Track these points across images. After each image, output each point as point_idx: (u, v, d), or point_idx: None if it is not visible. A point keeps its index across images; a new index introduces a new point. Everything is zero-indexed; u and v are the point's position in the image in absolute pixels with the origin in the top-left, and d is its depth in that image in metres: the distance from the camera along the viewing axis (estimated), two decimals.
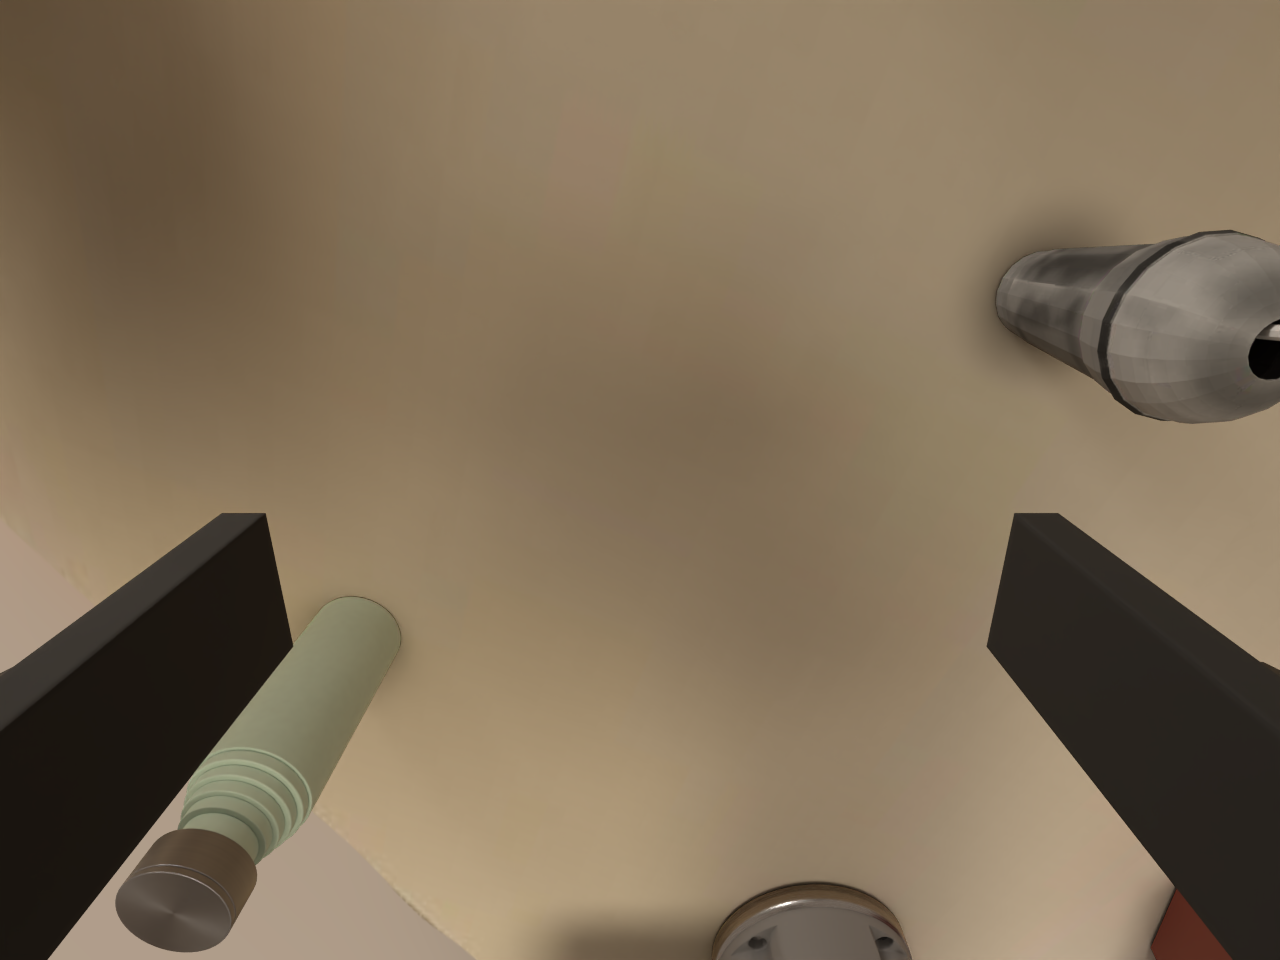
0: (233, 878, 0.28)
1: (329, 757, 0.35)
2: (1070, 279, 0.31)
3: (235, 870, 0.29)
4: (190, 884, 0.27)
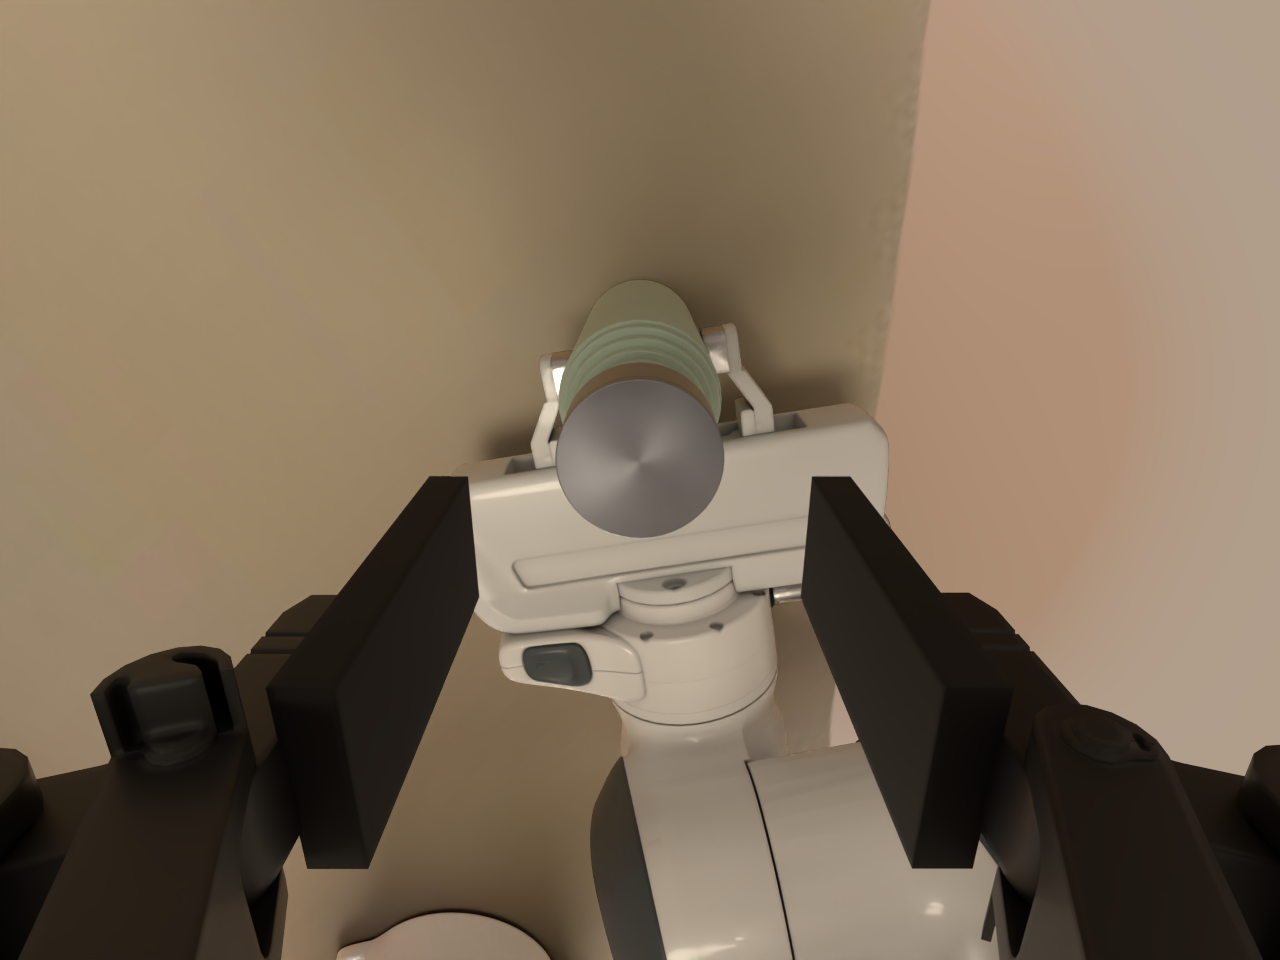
0: None
1: (573, 350, 0.26)
2: None
3: None
4: (574, 488, 0.19)
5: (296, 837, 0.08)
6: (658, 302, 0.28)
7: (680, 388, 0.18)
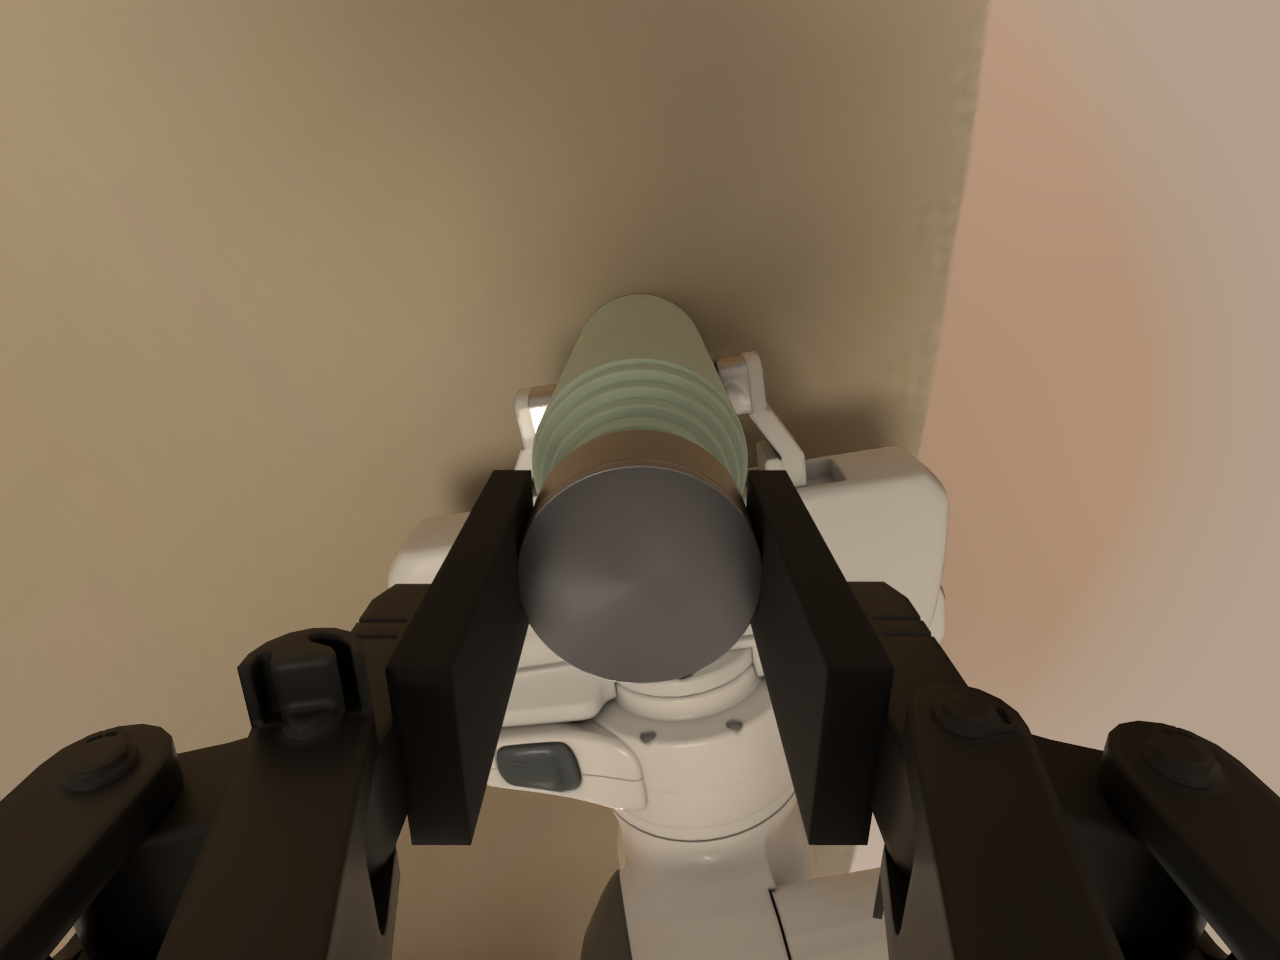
0: None
1: (553, 392, 0.20)
2: None
3: None
4: (544, 617, 0.13)
5: (405, 814, 0.09)
6: (663, 328, 0.22)
7: (700, 478, 0.12)
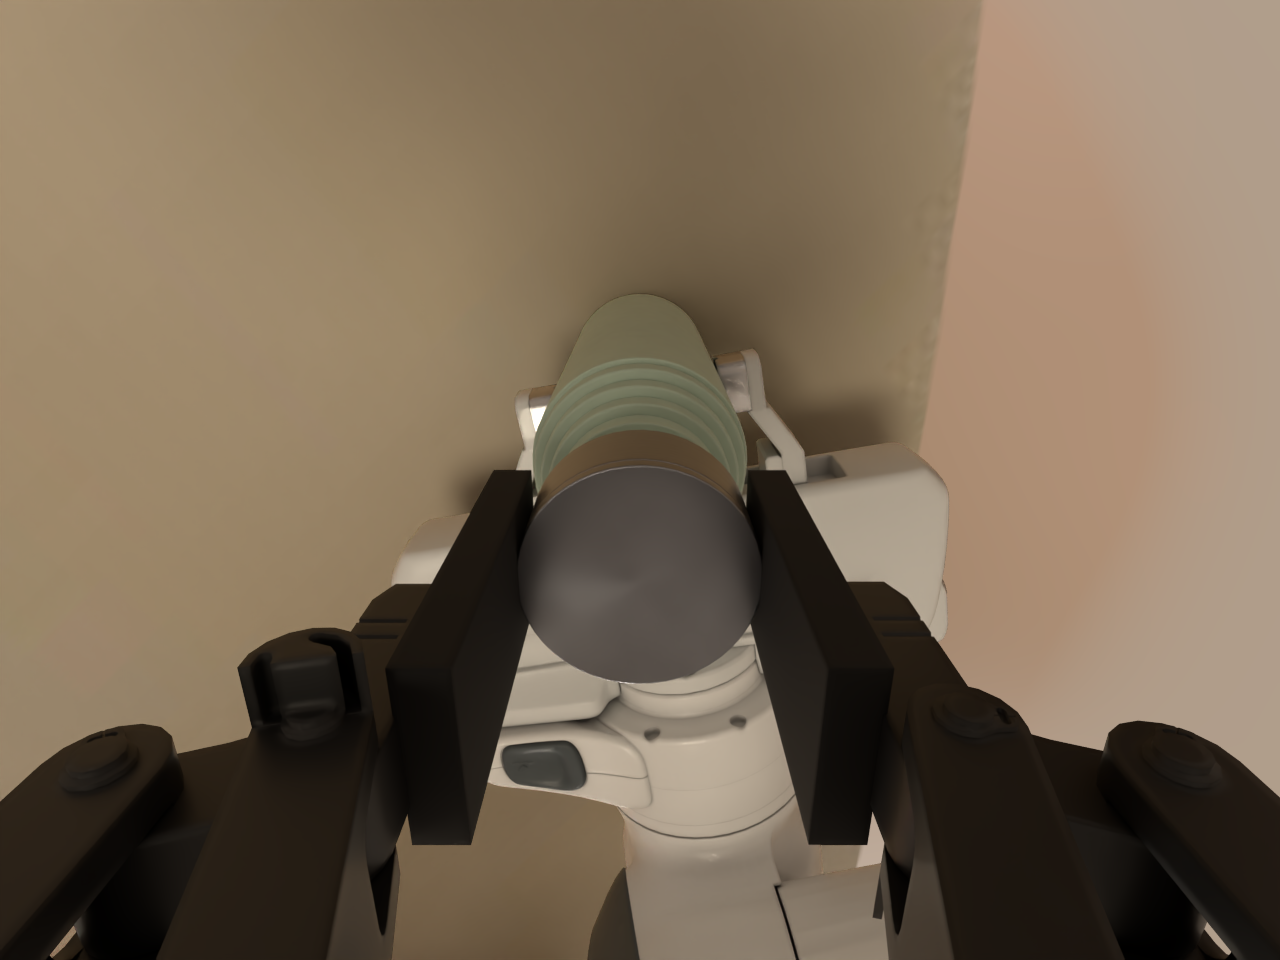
0: None
1: (553, 393, 0.20)
2: None
3: None
4: (733, 619, 0.13)
5: (405, 814, 0.09)
6: (661, 327, 0.22)
7: (522, 606, 0.13)
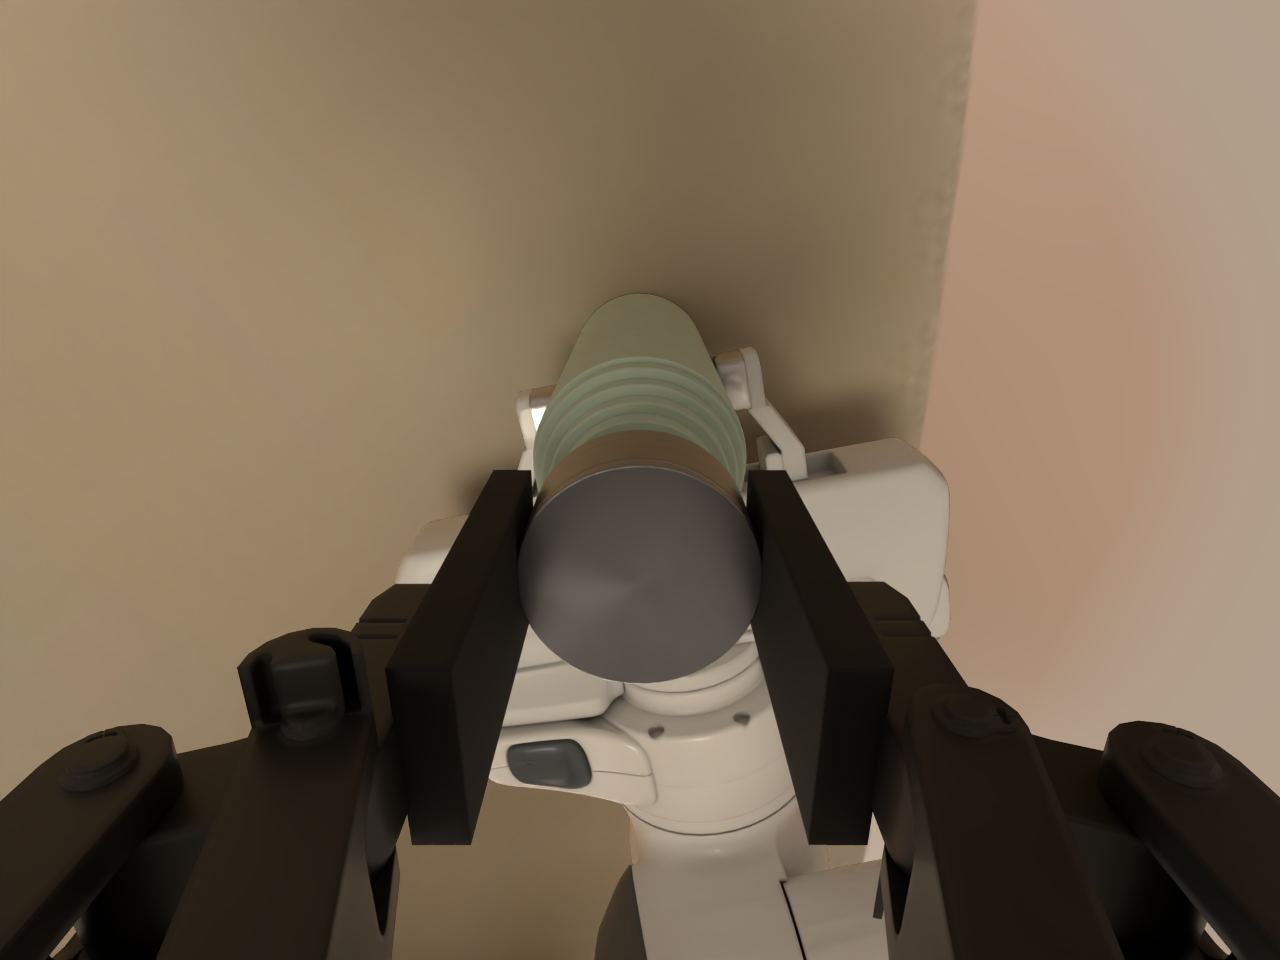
0: (675, 453, 0.13)
1: (552, 393, 0.20)
2: None
3: (668, 447, 0.13)
4: (605, 488, 0.12)
5: (405, 814, 0.09)
6: (660, 326, 0.22)
7: (739, 636, 0.13)
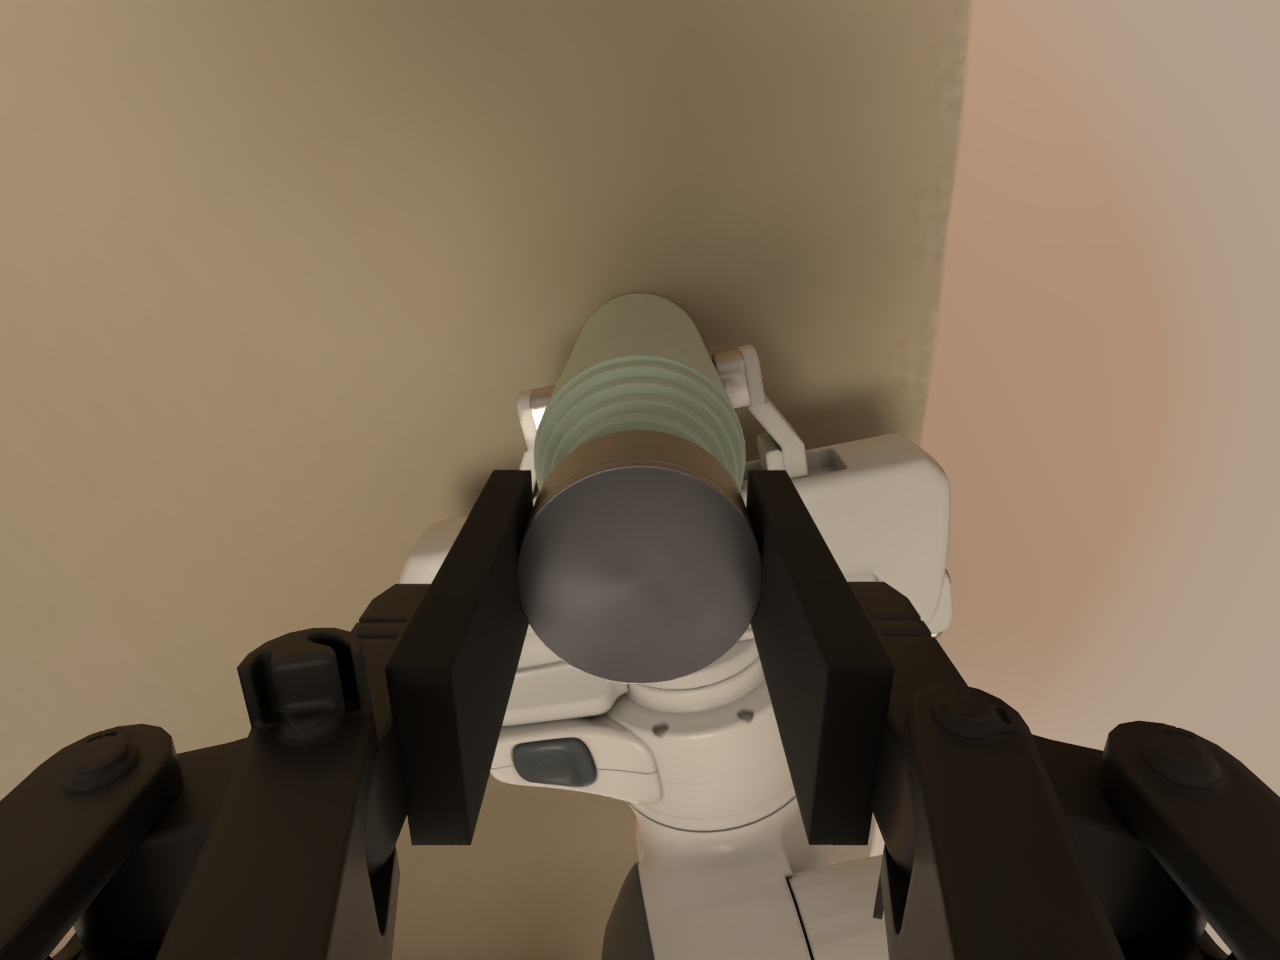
0: None
1: (552, 393, 0.20)
2: None
3: None
4: (589, 659, 0.13)
5: (405, 814, 0.09)
6: (659, 325, 0.22)
7: (618, 465, 0.12)
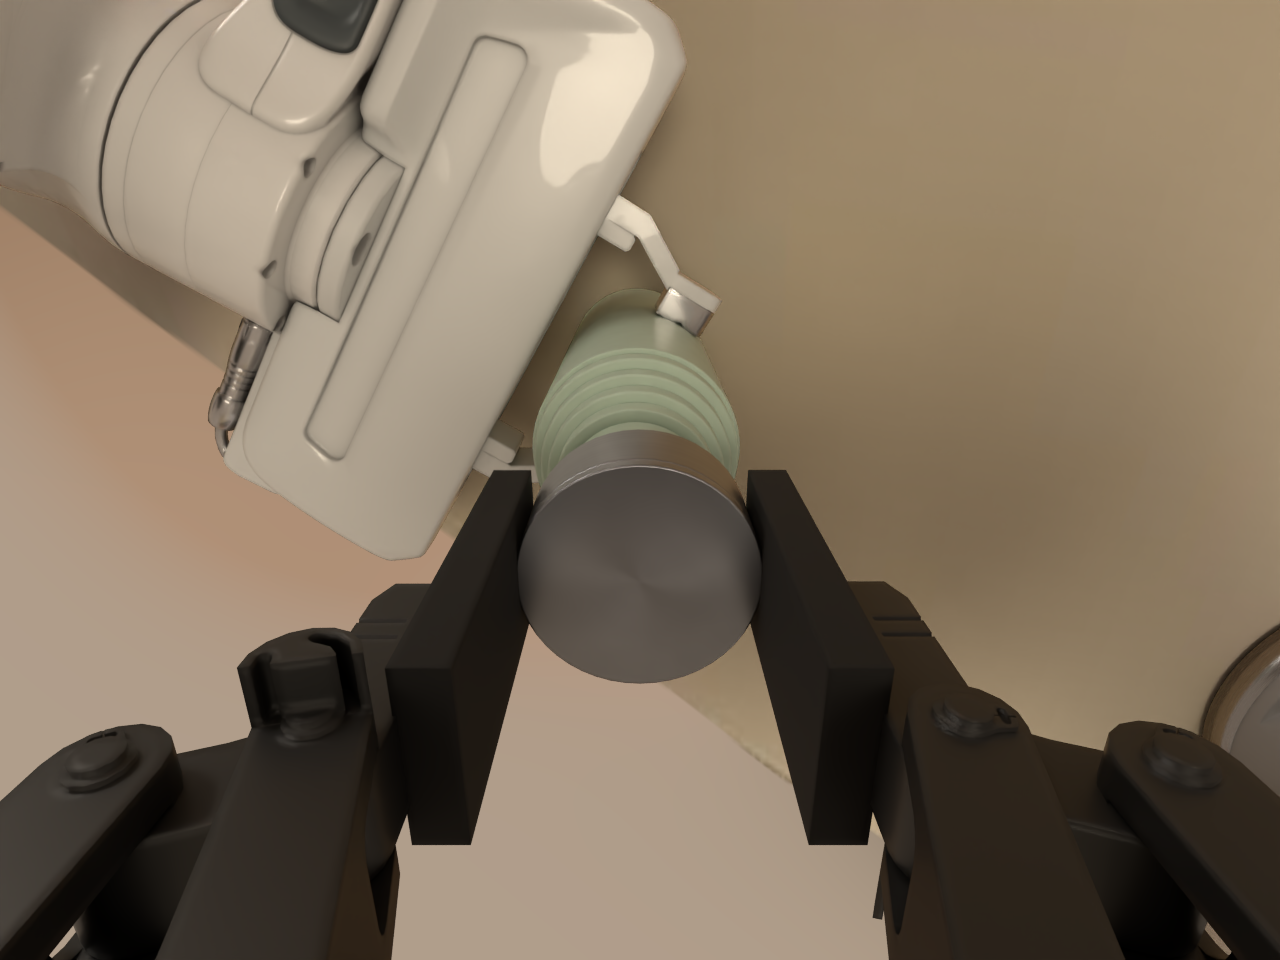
0: None
1: None
2: None
3: None
4: (589, 659, 0.13)
5: (405, 814, 0.09)
6: None
7: (618, 465, 0.12)
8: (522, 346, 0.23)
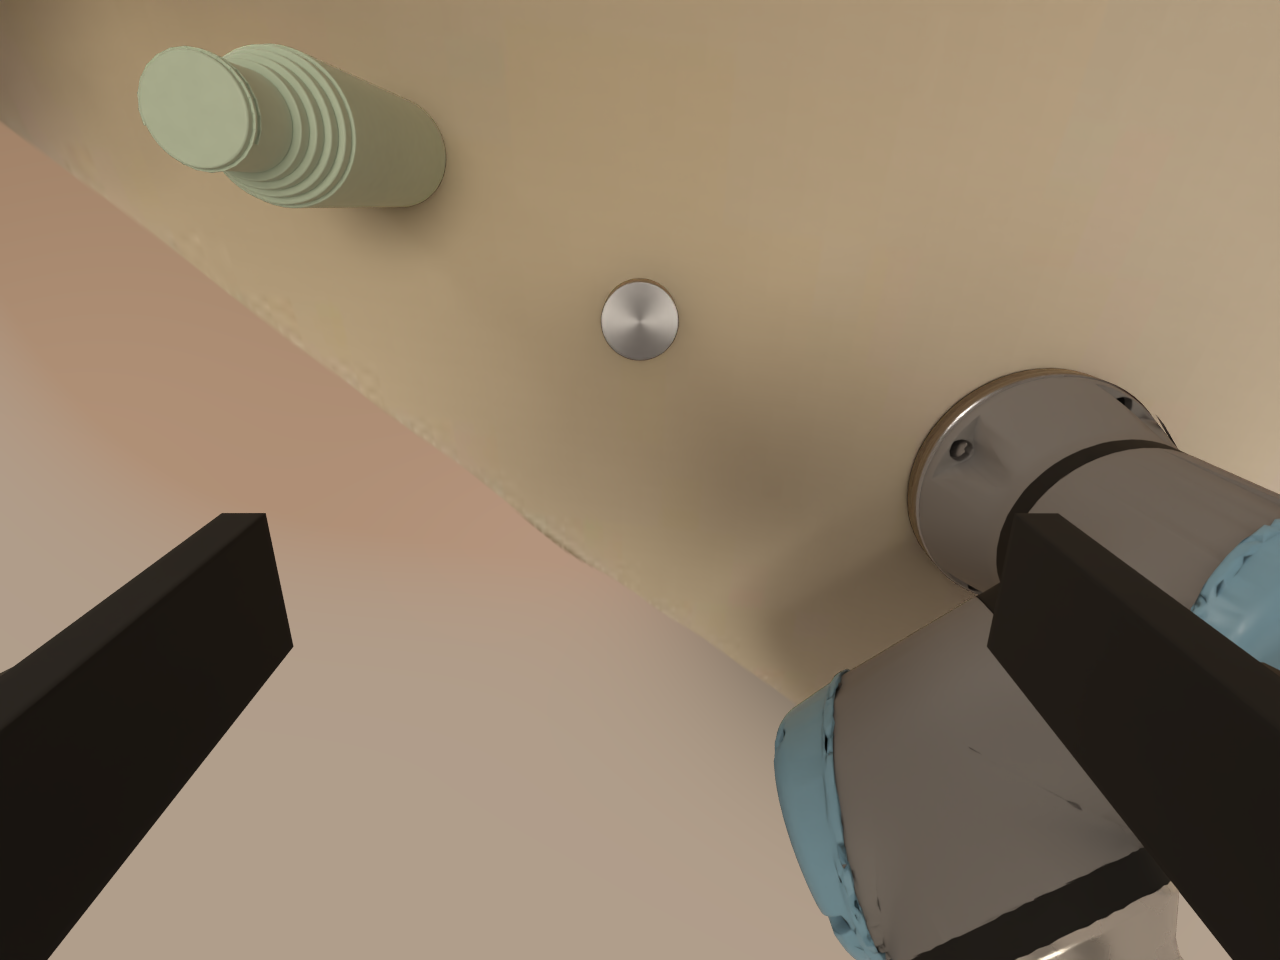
0: None
1: (367, 107, 0.28)
2: None
3: None
4: (623, 350, 0.41)
5: None
6: (378, 195, 0.32)
7: (633, 282, 0.40)
8: None
